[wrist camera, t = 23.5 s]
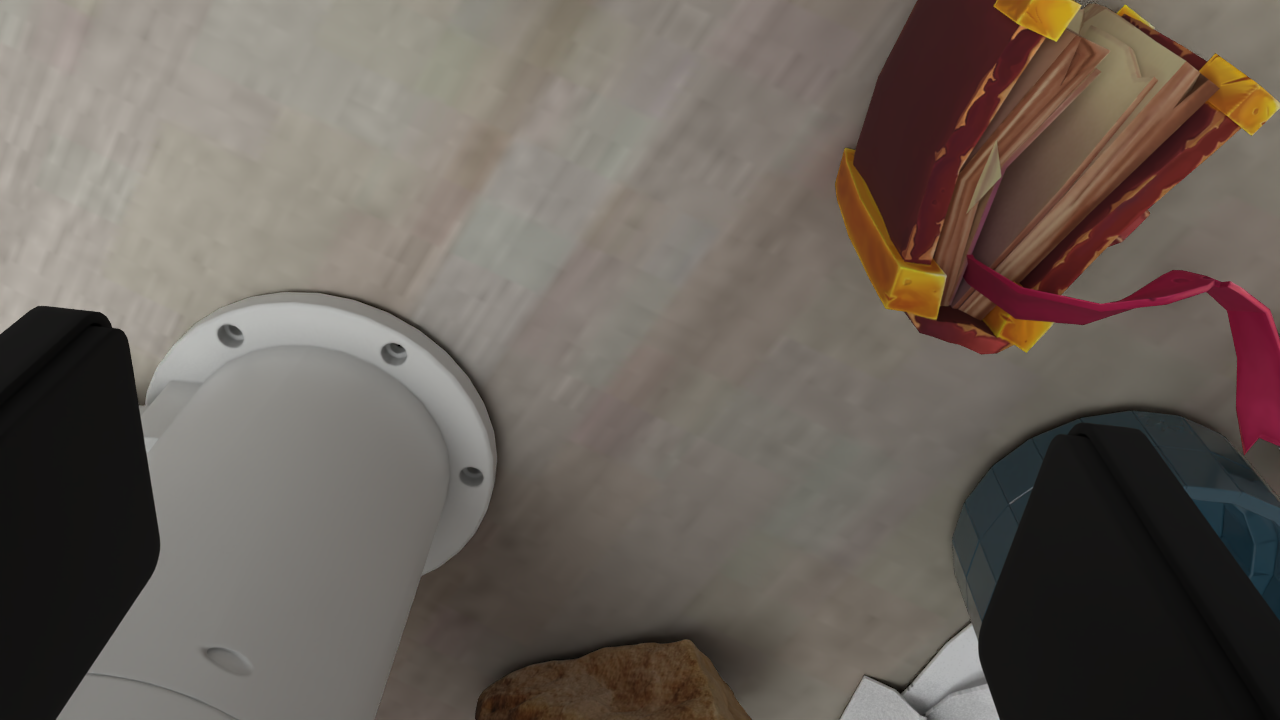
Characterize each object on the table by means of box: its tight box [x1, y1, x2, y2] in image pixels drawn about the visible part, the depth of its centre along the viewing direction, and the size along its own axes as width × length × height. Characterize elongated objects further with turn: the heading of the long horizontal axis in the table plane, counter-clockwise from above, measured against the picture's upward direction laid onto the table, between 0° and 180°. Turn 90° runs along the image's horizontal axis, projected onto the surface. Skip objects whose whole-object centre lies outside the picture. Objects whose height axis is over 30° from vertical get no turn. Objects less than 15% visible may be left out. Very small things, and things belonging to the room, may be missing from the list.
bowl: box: [952, 411, 1280, 640], centre depth 36 cm, size 11×11×5 cm
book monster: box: [835, 0, 1280, 455], centre depth 27 cm, size 11×9×12 cm
